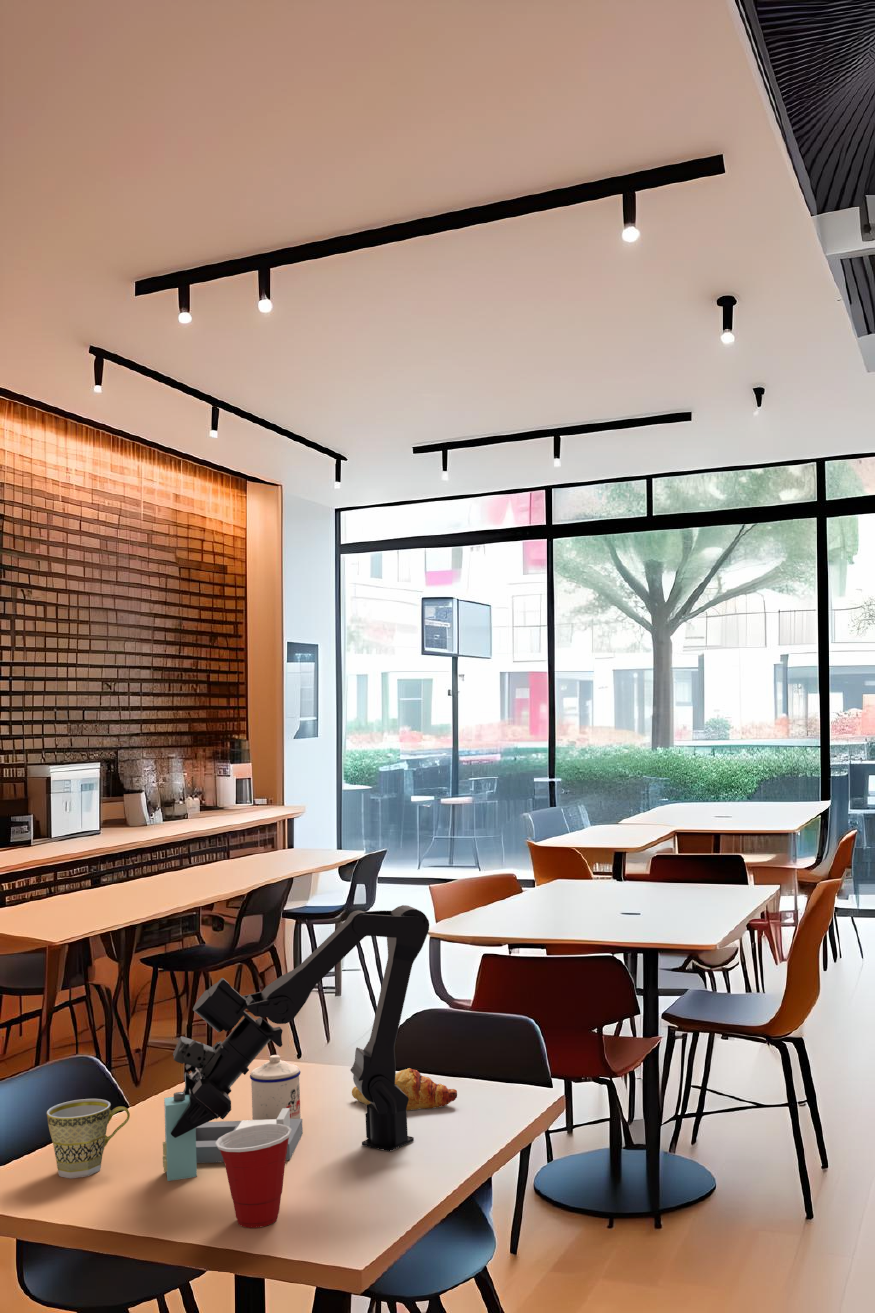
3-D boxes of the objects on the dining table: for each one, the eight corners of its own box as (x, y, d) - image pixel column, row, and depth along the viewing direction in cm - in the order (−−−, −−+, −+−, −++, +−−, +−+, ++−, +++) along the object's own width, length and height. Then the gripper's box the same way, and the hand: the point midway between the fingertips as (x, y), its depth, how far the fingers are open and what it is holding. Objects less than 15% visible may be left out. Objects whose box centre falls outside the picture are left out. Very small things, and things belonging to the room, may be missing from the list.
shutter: (290, 1123, 196) (290, 1106, 196) (283, 1138, 189) (282, 1120, 189) (242, 1125, 196) (241, 1108, 197) (232, 1140, 189) (231, 1122, 189)
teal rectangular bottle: (194, 1167, 184) (192, 1088, 185) (196, 1176, 180) (194, 1095, 181) (162, 1172, 183) (160, 1092, 184) (164, 1181, 178) (162, 1099, 180)
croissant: (347, 1125, 213) (337, 1092, 210) (363, 1085, 222) (354, 1053, 219) (455, 1129, 207) (446, 1095, 204) (467, 1088, 215) (458, 1055, 213)
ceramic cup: (45, 1186, 179) (44, 1121, 180) (49, 1165, 188) (48, 1103, 189) (130, 1174, 182) (129, 1110, 183) (130, 1154, 192) (129, 1093, 193)
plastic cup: (236, 1203, 168) (233, 1120, 169) (305, 1206, 166) (302, 1122, 167) (204, 1234, 158) (202, 1145, 159) (277, 1238, 155) (275, 1147, 156)
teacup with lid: (297, 1130, 201) (294, 1062, 202) (246, 1131, 201) (244, 1063, 202) (308, 1108, 213) (306, 1044, 214) (260, 1110, 213) (258, 1046, 214)
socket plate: (302, 1133, 198) (302, 1118, 199) (289, 1160, 185) (289, 1144, 186) (194, 1137, 199) (194, 1122, 199) (174, 1163, 186) (174, 1148, 186)
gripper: (197, 1007, 194) (131, 1082, 189) (207, 1031, 176) (135, 1114, 172) (245, 1049, 195) (181, 1124, 191) (260, 1077, 177) (189, 1160, 173)
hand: (171, 1129), depth 182 cm, fingers open, 7 cm apart
